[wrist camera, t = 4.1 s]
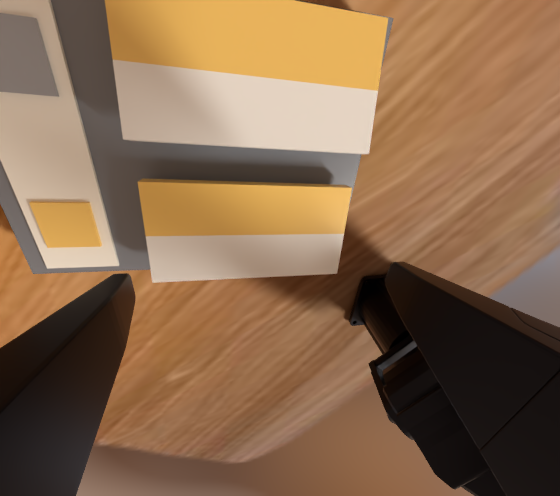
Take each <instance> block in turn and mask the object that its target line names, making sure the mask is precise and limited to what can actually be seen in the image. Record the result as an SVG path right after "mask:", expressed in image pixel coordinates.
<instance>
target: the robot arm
mask: <svg viewBox="0 0 560 496" xmlns="http://www.w3.org/2000/svg"><path fill="white" fill-rule="evenodd" d="M366 281H367V282H366ZM134 305H135V292H134V288H133V284H132V280H131V276H130V275H129V274H127V273H126V274H113V275H111V276H110V277H108V278H107V279H105V280H104V281H102V282H101V283H99V284H98V285H96V286H95V287H93V288H92V289H90V290H88V291H87V292H85V293H84V294H82V295H81V296H79V297H78V298H76V299H75V300H73V301H72V302H70V303H69V304H67V305H65V306H64V307H62V308H61V309H59V310H58V311H56V312H55V313H53V314H52V315H50V316H49V317H47V318H46V319H44V320H43V321H41V322H39V323H38V324H36V325H35V326H33V327H32V328H30V329H29V330H27V331H26V332H24V333H23V334H21V335H20V336H18V337H16V338H15V339H13V340H12V341H10V342H9V343H7V344H6V345H4V346H3V347H1V348H0V496H76V494H77V491H78V487H79V485H80V482H81V479H82V475H83V473H84V470H85V467H86V464H87V461H88V458H89V455H90V452H91V449H92V446H93V443H94V440H95V437H96V434H97V431H98V428H99V426H100V423H101V420H102V417H103V414H104V411H105V408H106V405H107V402H108V399H109V396H110V393H111V390H112V387H113V384H114V381H115V378H116V375H117V372H118V369H119V366H120V363H121V360H122V357H123V354H124V351H125V348H126V344H127V340H128V335H129V330H130V325H131V320H132V315H133V310H134ZM349 322H350V324H351V325H352V326H355V325H365V327H366V328H367V330H368V332H369V333H370V335H371V336H372V338H373V340H374V341H375V343H376V344H377V346H378V348H379V349H380V351H381V352H382V354H383V355H381V356H380V357H378V358H377V359H376V360H372V361H371V362H370V363H369V366H370V369H371V374H372V376H373V379H374V382H375V384H376V387H377V390H378V392H379V395H380V398H381V400H382V403H383V405H384V408H385V410H386V412H387V416H388V418H389V420H390V421H391V422H392V423H394V424H396V425H397V426H398V427H399V428H400V430H401V431H402V432H403V433H404V434H405V435H406V436H407V437H409V438H410V439H412V440H415V442H416V443H417V445H418V447H419V448H420V450H421V451H422V453H423V455H424V456H425V458H426V460H427V461H428V463H429V465H430V467H431V468H432V470H433V472H434V473H435V474H436V475H437V476H438V477H439V478H440V479H441V480H443V481H444V482H445V483H446V484H448V485H449V486H450V487H451V488H453V489H457V488H459V487H463V488H464V489H465V490H467V491H468V492H470V493H471V494H473V495H474V496H560V327H557V326H554V325H552V324H550V323H547V322H544V321H542V320H539V319H537V318H535V317H532V316H530V315H528V314H525V313H523V312H520V311H518V310H516V309H513V308H509V307H508V306H506V305H504V304H502V303H499V302H497V301H495V300H492V299H490V298H487V297H485V296H483V295H480V294H478V293H476V292H473V291H471V290H469V289H466V288H464V287H462V286H459V285H457V284H455V283H452V282H450V281H448V280H445V279H443V278H441V277H438V276H436V275H433V274H431V273H429V272H426V271H424V270H422V269H419V268H417V267H415V266H412V265H410V264H408V263H405V262H393V263H392V264H391V265H390V268H389V270H388V273H387V275H382V276H366V277H364V278H362V280H361V283H360V286H359V289H358V292H357V296H356V299H355V302H354V306H353V309H352V312H351V315H350V319H349Z"/></svg>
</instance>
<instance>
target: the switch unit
mask: <svg viewBox="0 0 560 496" xmlns="http://www.w3.org/2000/svg"><path fill="white" fill-rule="evenodd" d="M295 1H299V0H295ZM300 2H304V1H300ZM306 3H310V2H306ZM311 4H315V3H311ZM316 5H320V4H316ZM322 6H326V5H322ZM327 7H331V6H327ZM332 8H336V7H332ZM338 9H342V8H338ZM343 10H347V9H343ZM348 11H352V10H348ZM354 12H358V11H354ZM359 13H363V12H359ZM365 14H368V13H365ZM370 15H374V14H370ZM375 16H379V15H375ZM381 17H385V16H381ZM386 18H388V24H387V31H386V38H385V45H384V52H383V59H382V64H383V60H384V56H385V52H386V47H387V43H388V39H389V35H390V30H391V26H392V22H393V18H390V17H386ZM381 69H382V66H381ZM360 158H361V154H347V153H330V152H313V151H295V150H278V149H261V148H244V147H227V146H210V145H193V144H176V143H159V142H142V141H129V140H123V135H122V128H121V120H120V113H119V105H118V97H117V90H116V82H115V74H114V67H113V59H112V52H111V44H110V36H109V29H108V21H107V13H106V6H105V0H0V204H1V206H2V208H3V211H4V213H5V215H6V217H7V219H8V221H9V223H10V226H11V228H12V230H13V232H14V234H15V236H16V238H17V241H18V243H19V245H20V247H21V249H22V251H23V253H24V255H25V258H26V260H27V262H28V264H29V266H30V268H31V270H32V273H33V274H43V273H70V272H96V271H122V270H149V269H150V262H149V255H148V249H147V242H146V235H145V228H144V222H143V215H142V208H141V202H140V195H139V188H138V181H140V180H141V179H174V180H206V181H239V182H271V183H304V184H336V185H347V186H349V187H351V188H352V191H351V196H352V192H353V188H354V184H355V179H356V175H357V171H358V167H359V162H360ZM350 201H351V197H350ZM349 205H350V203H349ZM348 209H349V208H348Z"/></svg>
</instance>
